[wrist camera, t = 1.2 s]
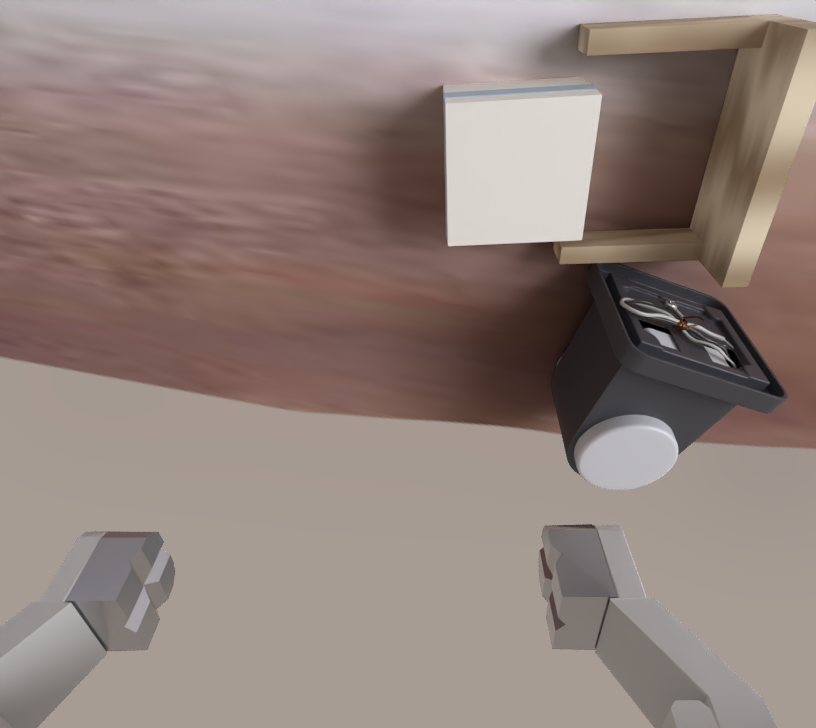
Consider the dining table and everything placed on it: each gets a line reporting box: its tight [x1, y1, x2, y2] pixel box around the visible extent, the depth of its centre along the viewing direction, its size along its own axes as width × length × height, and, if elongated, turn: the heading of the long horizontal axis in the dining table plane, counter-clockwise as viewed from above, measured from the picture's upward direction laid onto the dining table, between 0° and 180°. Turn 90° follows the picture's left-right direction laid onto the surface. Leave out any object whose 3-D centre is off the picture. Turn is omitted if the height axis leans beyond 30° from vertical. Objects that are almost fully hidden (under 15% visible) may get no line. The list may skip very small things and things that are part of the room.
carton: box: [443, 77, 602, 246], centre depth 33 cm, size 8×8×5 cm
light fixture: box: [551, 263, 788, 490], centre depth 39 cm, size 11×13×11 cm
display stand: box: [553, 14, 816, 287], centre depth 32 cm, size 13×10×6 cm
